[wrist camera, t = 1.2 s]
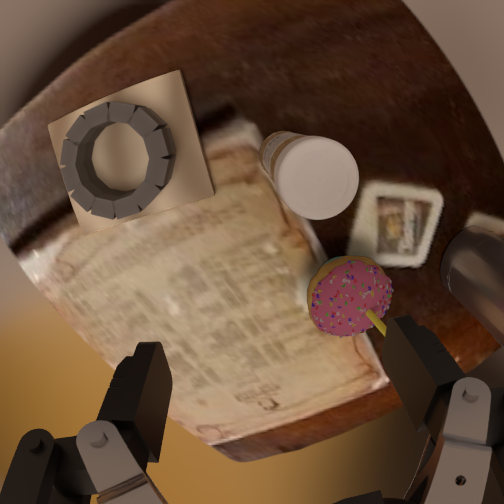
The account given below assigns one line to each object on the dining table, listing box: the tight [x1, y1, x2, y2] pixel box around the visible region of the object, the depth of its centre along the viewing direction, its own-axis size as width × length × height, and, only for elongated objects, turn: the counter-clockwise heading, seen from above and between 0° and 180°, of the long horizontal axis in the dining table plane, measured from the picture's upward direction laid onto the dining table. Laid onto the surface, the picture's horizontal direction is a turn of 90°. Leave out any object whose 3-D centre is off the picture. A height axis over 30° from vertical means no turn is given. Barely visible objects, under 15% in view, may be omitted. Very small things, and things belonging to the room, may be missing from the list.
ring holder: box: [48, 70, 215, 236], centre depth 26 cm, size 14×12×5 cm
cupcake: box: [307, 256, 393, 338], centre depth 29 cm, size 9×8×12 cm
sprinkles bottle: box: [260, 131, 359, 220], centre depth 22 cm, size 5×4×14 cm
